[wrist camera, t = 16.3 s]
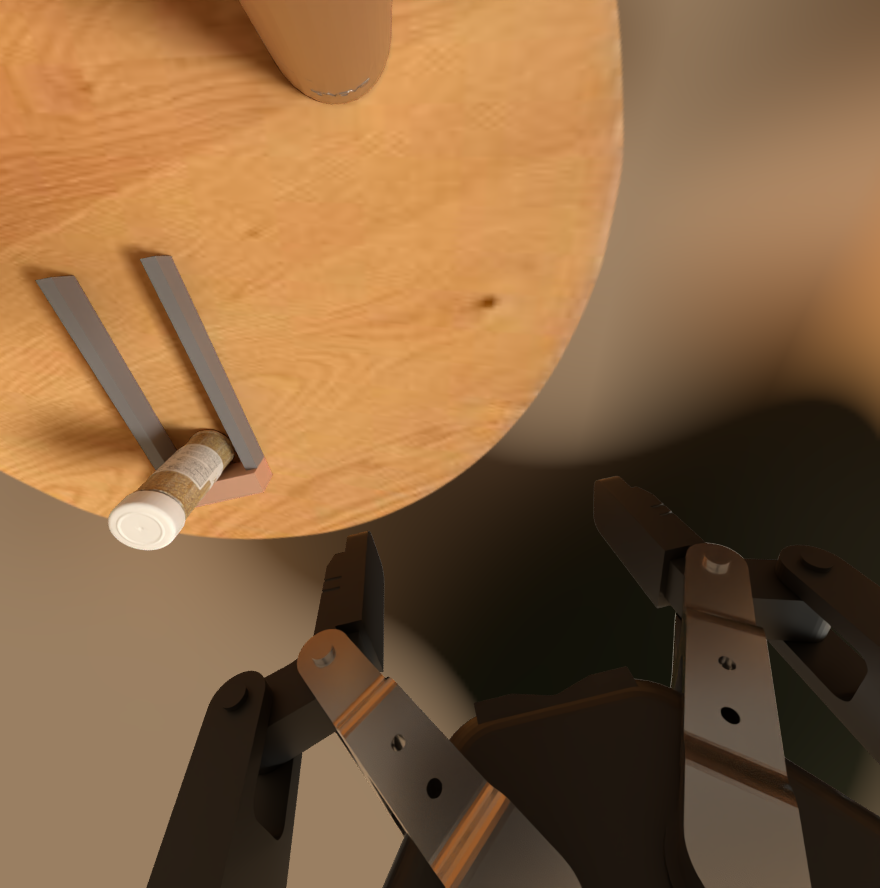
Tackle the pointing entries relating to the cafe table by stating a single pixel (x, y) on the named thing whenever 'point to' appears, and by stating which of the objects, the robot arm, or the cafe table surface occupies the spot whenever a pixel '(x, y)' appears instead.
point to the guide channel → (129, 396)
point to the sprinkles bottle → (171, 492)
